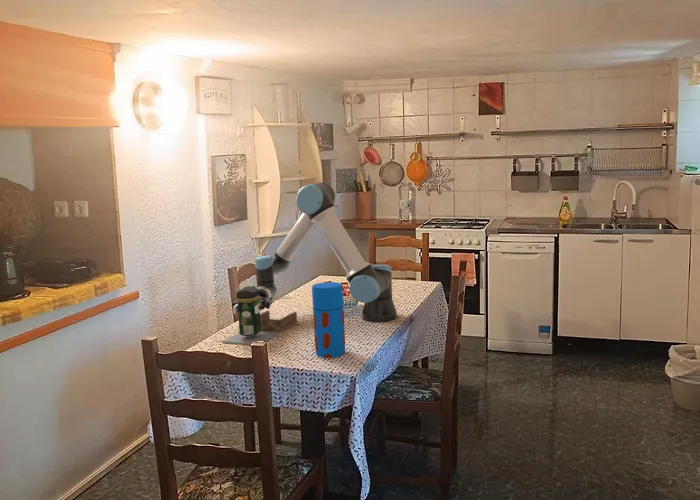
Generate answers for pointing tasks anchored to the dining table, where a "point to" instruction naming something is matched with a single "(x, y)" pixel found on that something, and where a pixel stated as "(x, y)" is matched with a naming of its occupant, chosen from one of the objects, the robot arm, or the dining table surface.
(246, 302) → the coffee jar
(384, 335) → the dining table surface
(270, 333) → the slate mat
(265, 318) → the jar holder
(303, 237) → the robot arm
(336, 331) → the thermos
